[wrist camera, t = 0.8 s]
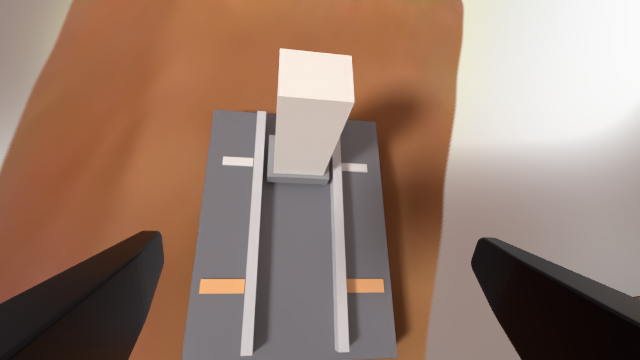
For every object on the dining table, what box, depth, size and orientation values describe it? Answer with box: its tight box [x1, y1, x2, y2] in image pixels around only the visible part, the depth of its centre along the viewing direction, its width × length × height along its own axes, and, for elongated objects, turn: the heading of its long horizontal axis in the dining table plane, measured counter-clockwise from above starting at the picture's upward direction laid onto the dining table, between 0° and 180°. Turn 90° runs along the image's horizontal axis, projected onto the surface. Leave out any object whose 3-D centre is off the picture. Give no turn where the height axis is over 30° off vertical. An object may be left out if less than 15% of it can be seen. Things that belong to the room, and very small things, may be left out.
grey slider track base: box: [182, 110, 398, 360], centre depth 21 cm, size 16×12×3 cm
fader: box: [267, 48, 354, 185], centre depth 18 cm, size 3×4×9 cm
